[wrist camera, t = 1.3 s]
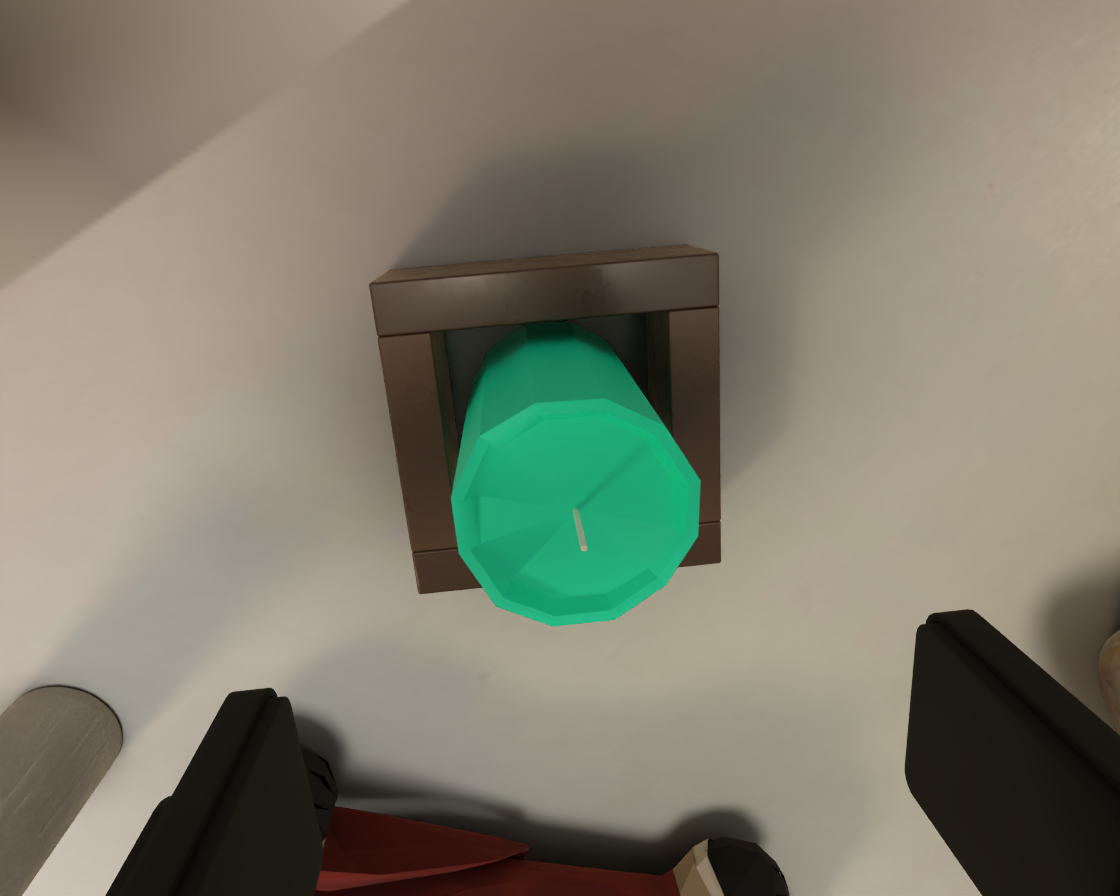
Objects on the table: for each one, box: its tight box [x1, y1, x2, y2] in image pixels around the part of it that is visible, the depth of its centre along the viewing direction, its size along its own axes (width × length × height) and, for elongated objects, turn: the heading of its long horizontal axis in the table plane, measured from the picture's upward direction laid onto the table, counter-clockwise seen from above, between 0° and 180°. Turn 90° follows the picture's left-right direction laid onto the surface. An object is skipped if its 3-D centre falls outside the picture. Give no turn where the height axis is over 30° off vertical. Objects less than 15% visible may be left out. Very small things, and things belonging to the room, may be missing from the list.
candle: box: [451, 322, 701, 626], centre depth 22 cm, size 6×6×12 cm
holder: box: [369, 244, 721, 594], centre depth 26 cm, size 10×10×4 cm
